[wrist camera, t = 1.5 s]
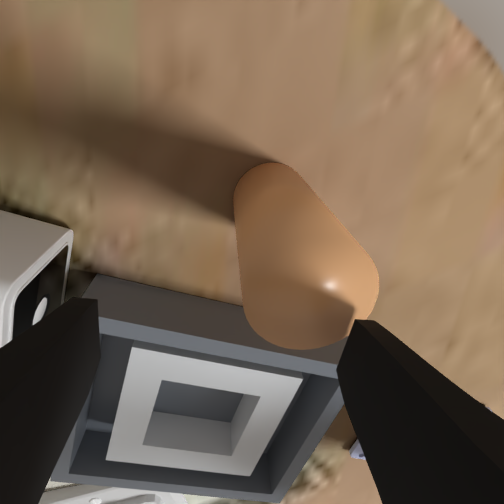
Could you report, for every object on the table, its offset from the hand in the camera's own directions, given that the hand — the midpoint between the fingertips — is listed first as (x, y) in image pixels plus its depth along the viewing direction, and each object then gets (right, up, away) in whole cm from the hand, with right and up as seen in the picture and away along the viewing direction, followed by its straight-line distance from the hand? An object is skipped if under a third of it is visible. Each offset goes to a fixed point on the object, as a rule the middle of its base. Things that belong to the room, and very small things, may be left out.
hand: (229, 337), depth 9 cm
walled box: (-3, -7, +14) cm, 16 cm away
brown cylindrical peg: (+2, +5, +8) cm, 10 cm away
